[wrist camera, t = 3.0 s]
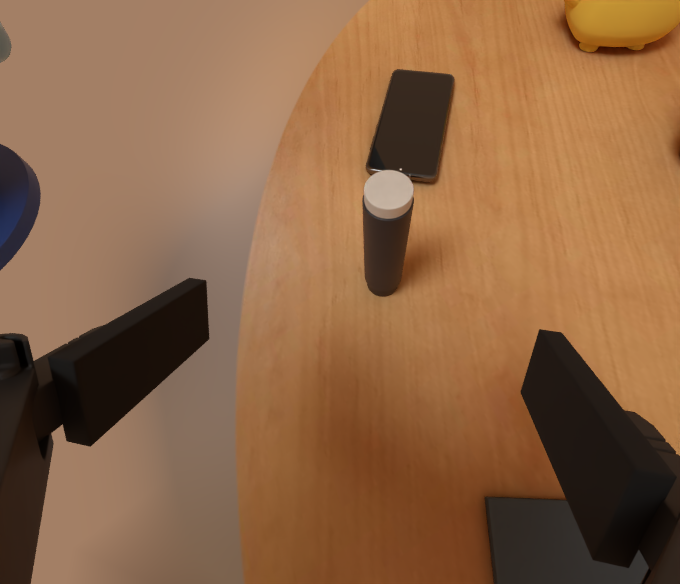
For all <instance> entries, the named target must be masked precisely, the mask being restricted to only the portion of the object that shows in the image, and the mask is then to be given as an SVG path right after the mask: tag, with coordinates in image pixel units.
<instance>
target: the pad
mask: <svg viewBox="0 0 680 584" xmlns="http://www.w3.org/2000/svg"><path fill="white" fill-rule="evenodd" d="M485 504H486V514H487V523H488V532H489V541H490V550H491V559H492V568H493V577H494V584H640V583H641V581H642V580H643V578H644V576H645V574H646V572H647V571H648V569H649V567H648V565H647V563H646V561H645V560H644V558H643V556H642V554H641V552H640V551H639V550H638V552H637V554H636V556H635V558H634V560H633V561H632V563H631V565H630V567H629V568H625V567H621V566H616V565H612V564H608V563H603V562H599V561H594V560H592V557H591V555H590V553H589V550H588V548H587V546H586V543H585V541H584V539H583V536H582V534H581V532H580V529H579V527H578V525H577V522H576V520H575V518H574V516H573V513H572V511H571V509H570V506H569V504H568V502H567V500H557V499H533V498H508V497H485Z"/></svg>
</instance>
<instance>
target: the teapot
mask: <svg viewBox="0 0 680 584" xmlns="http://www.w3.org/2000/svg"><path fill="white" fill-rule="evenodd" d="M564 1H565V13H566V18H567V22H568V25H569V28H570V30H571V32H572V34H573V36H574V37H575V38H576V39H577V40H578V41H580V44H579V47H580V49H581V50H583V51H586V52H594V51H596V50H597V49H598V47H599V46H608V47H627V48H629V49H632V50H641V49H643V48H644V44H646V43H651V42H654V41H656V40H658V39H660V38H662V37H663V36H665V35H666V34H668V33H669V32H670V31H672V30H673V29H674V28H675V27H676V26H677V25H678V24H679V22H680V0H564Z"/></svg>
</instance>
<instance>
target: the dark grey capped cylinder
mask: <svg viewBox="0 0 680 584" xmlns="http://www.w3.org/2000/svg"><path fill="white" fill-rule="evenodd" d="M413 193H414V187H413V184H412V182H411V180H410V179H409V178H408V177H407V176H406V175H405V174H403V173H401V172H398V171H394V170H384V171H380V172H377V173H375V174H373V175H372V176H371V177H370V178H369V179H368V180H367V182H366V183H365V186H364V195H363V233H364V266H365V279H366V282H367V285H368V288H369V290H370V291H371V292H372V293H373V294H375V295H377V296H388V295H391V294H392V293H394V292H395V290H396V289H397V286H398V284H399V283H400V281H401V277H402V270H403V264H404V258H405V252H406V246H407V240H408V234H409V228H410V222H411V216H412V210H413V204H414V198H413Z"/></svg>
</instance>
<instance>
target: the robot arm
mask: <svg viewBox="0 0 680 584" xmlns="http://www.w3.org/2000/svg"><path fill="white" fill-rule="evenodd" d="M10 51H11V42H10V39H9V36H8V34H7V33H6V31H5V29H4V27H3V26H2V24H1V23H0V63H1V62H3V61H5V60H6V59H7V58H8V57H9V55H10ZM207 307H208V305H207V287H206V280H200V279H193V278H189V279H186V280H185V281H183V282H181V283H179V284H178V285H176V286H174V287H172V288H170V289H169V290H167V291H165V292H163V293H161V294H160V295H158V296H156V297H154V298H152V299H151V300H149V301H147V302H145V303H144V304H142V305H140V306H138V307H136V308H134V309H133V310H131V311H129V312H127V313H125V314H124V315H122V316H120V317H118V318H117V319H115V320H113V321H111V322H109V323H108V324H106V325H103V326H100V327H97V328H94V329H92V330H90V331H88V332H86V333H84V334H82V335H81V336H79V338H76V339H73V340H72V341H70V342H68V344H64V345H62V346H61V347H59V348H57V349H55V350H53V351H51V352H50V353H48V354H46V355H44V356H42V357H41V358H39V359H37V360H35V361H33V357H32V353H31V349H30V345H29V341H28V337H27V336H25V335H23V334H15V333H9V334H0V584H31V578H32V572H33V566H34V559H35V554H36V547H37V541H38V535H39V529H40V522H41V517H42V511H43V505H44V498H45V492H46V486H47V480H48V474H49V468H50V462H51V456H52V450H53V440H52V435H51V433H52V432H53V431H54V430H56V429H57V428H58V427H60V426H61V425H62V424H63V427H64V431H65V436H66V440H67V441H68V442H72V443H77V444H81V445H86V446H92V445H93V444H94V443H95V442H96V441H97V440H98V439H99V438H100V437H102V436H103V435H104V434H105V433H106V432H107V431H108V430H109V429H110V428H112V427H113V426H114V425H115V424H116V423H117V422H118V421H119V420H120V419H121V418H123V417H124V416H125V415H126V414H127V413H128V412H129V411H130V410H131V409H133V408H134V407H135V406H136V405H137V404H138V403H139V402H140V401H141V400H142V399H143V398H145V397H146V396H147V395H148V394H149V393H150V392H151V391H152V390H153V389H155V388H156V387H157V386H158V385H159V384H160V383H161V382H162V381H163V380H165V379H166V378H167V377H168V376H169V375H170V374H171V373H172V372H173V371H174V370H175V369H177V368H178V367H179V366H180V365H181V364H182V363H183V362H184V361H186V360H187V359H188V358H189V357H190V356H191V355H192V354H193V353H194V352H195V351H196V350H198V349H199V348H200V347H201V346H202V345H203V344H204V343H205V342H206V341H208V340H209V328H208V326H209V325H208V308H207ZM521 395H522V397H523V399H524V402H525V404H526V406H527V409H528V411H529V413H530V416H531V418H532V420H533V422H534V425H535V427H536V429H537V432H538V434H539V436H540V439H541V441H542V443H543V446H544V448H545V450H546V453H547V455H548V457H549V460H550V462H551V464H552V467H553V469H554V471H555V474H556V476H557V478H558V481H559V483H560V485H561V488H562V490H563V492H564V495H565V497H566V499H567V502H568V504H569V506H570V509H571V511H572V513H573V516H574V518H575V520H576V522H577V525H578V527H579V529H580V532H581V534H582V536H583V539H584V541H585V543H586V546H587V548H588V550H589V553H590V555H591V557H592V560H594V561H599V562H603V563H608V564H612V565H616V566H621V567H625V568H629V567H630V565H631V563H632V561H633V560H634V558H635V556H636V554H637V552H638V550H639V551H640V552H641V554H642V556H643V558H644V560H645V561H646V563H647V565H648V567H649V569H648V571H647V572H646V574H645V576H644V578H643V580H642V581H641V583H640V584H680V456H679V455H677V454H676V451H675V450H674V449H673V448H672V447H671V446H670V444H669V443H667V442H665V439H664V437H663V436H662V435H661V434H660V433H659V432H658V430H657V429H656V428H655V427H654V426H653V425H652V424H650V423H649V422H648V421H646V420H645V419H644V418H642V417H641V416H640V415H638V414H637V413H635V412H631V411H625V410H623V409H622V407H621V406H620V405H619V404H618V402H617V401H616V400H615V399H614V397H613V396H612V395H611V394H610V392H609V391H608V390H607V389H606V387H605V386H604V385H603V384H602V382H601V381H600V380H599V379H598V377H597V376H596V375H595V374H594V372H593V371H592V370H591V369H590V367H589V366H588V365H587V364H586V362H585V361H584V360H583V359H582V357H581V356H580V355H579V354H578V352H577V351H576V350H575V349H574V347H573V346H572V345H571V344H570V342H569V341H568V340H567V339H566V337H565V336H564V335H563V334H562V333H561V332H554V331H548V330H541V329H539V332H538V336H537V339H536V342H535V346H534V349H533V352H532V356H531V359H530V362H529V366H528V369H527V372H526V376H525V379H524V382H523V386H522V389H521Z"/></svg>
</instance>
